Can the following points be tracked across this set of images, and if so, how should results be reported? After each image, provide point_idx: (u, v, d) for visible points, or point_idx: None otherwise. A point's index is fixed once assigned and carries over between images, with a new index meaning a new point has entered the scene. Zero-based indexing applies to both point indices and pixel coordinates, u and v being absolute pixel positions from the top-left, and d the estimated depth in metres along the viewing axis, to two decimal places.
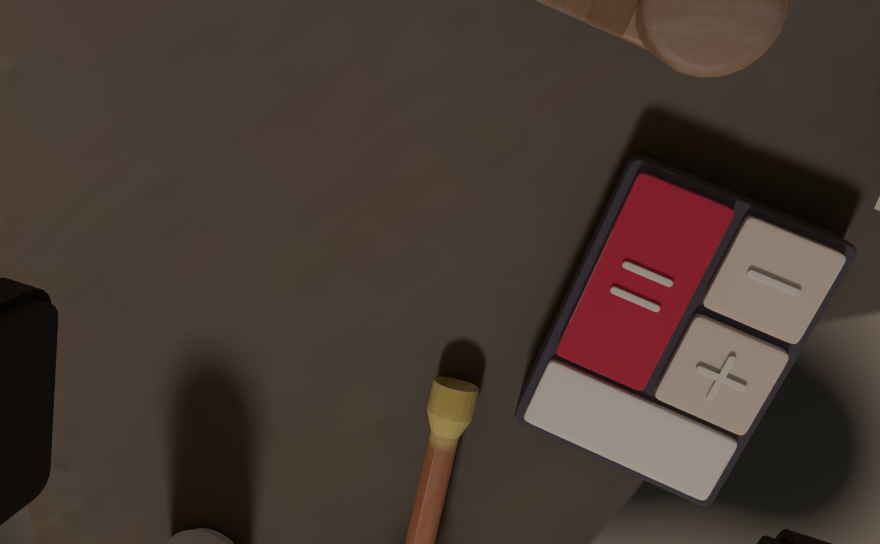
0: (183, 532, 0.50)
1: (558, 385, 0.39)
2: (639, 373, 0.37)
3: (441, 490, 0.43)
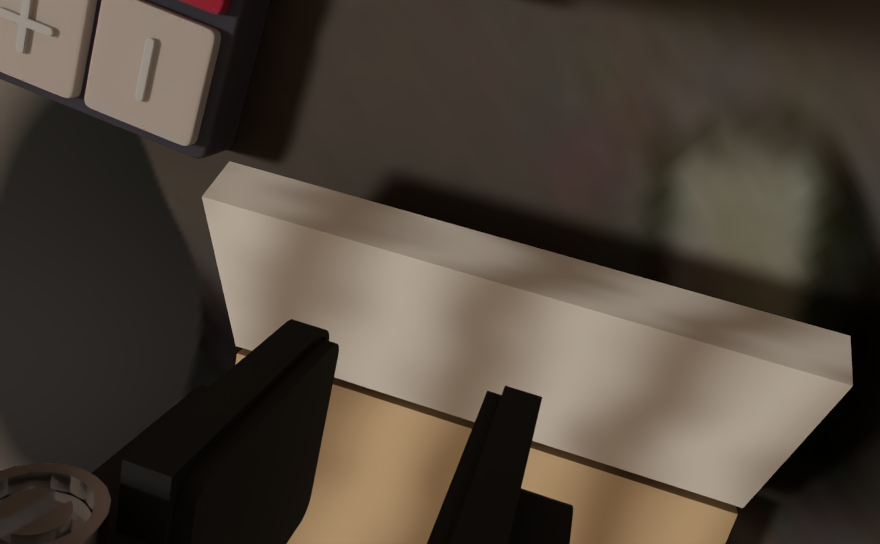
0: None
1: None
2: None
3: None
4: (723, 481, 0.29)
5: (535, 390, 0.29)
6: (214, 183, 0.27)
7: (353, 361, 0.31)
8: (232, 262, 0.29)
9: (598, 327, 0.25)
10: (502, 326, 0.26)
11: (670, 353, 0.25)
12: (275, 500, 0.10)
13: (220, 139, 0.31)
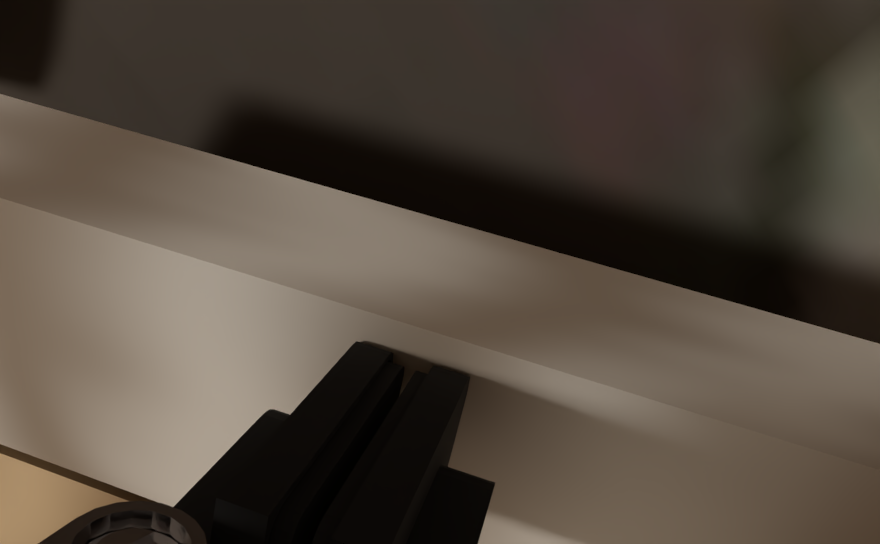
0: None
1: None
2: None
3: None
4: None
5: None
6: None
7: (168, 475, 0.16)
8: None
9: (686, 447, 0.10)
10: None
11: (877, 520, 0.09)
12: None
13: None
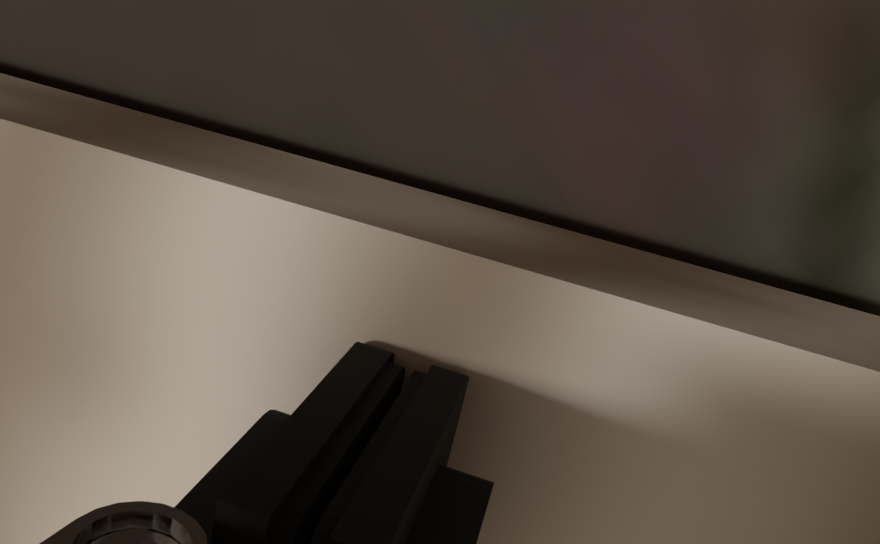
0: None
1: None
2: None
3: None
4: None
5: None
6: None
7: None
8: None
9: (732, 387, 0.09)
10: (466, 408, 0.10)
11: None
12: None
13: None
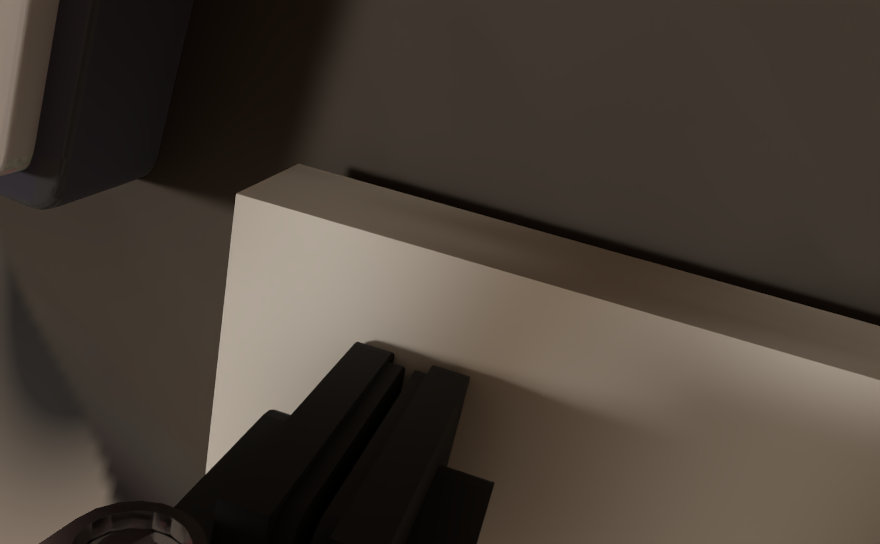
0: None
1: None
2: None
3: None
4: None
5: None
6: (266, 182, 0.11)
7: None
8: (257, 410, 0.11)
9: None
10: None
11: None
12: None
13: (108, 156, 0.12)
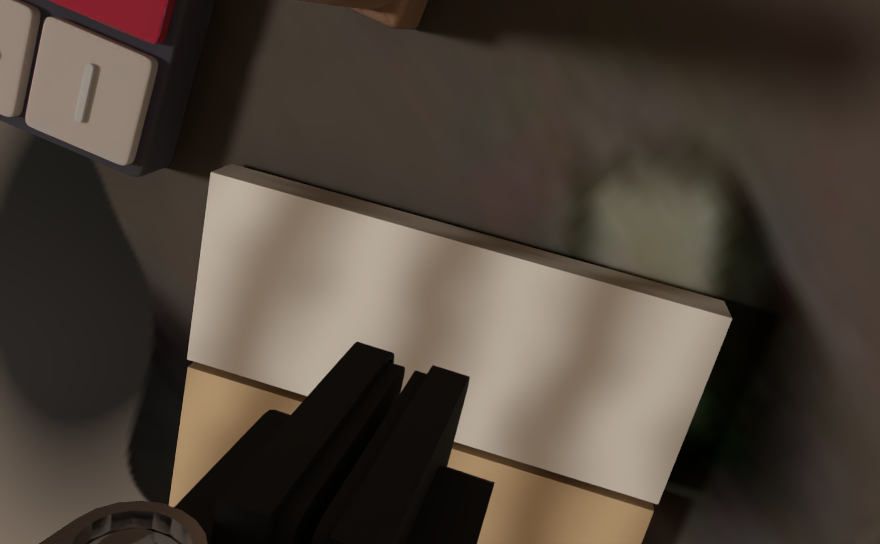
0: None
1: None
2: None
3: None
4: (639, 468, 0.32)
5: (476, 371, 0.32)
6: (220, 169, 0.33)
7: (306, 361, 0.34)
8: (216, 246, 0.33)
9: (535, 280, 0.31)
10: (454, 292, 0.32)
11: (592, 303, 0.31)
12: None
13: (157, 159, 0.33)
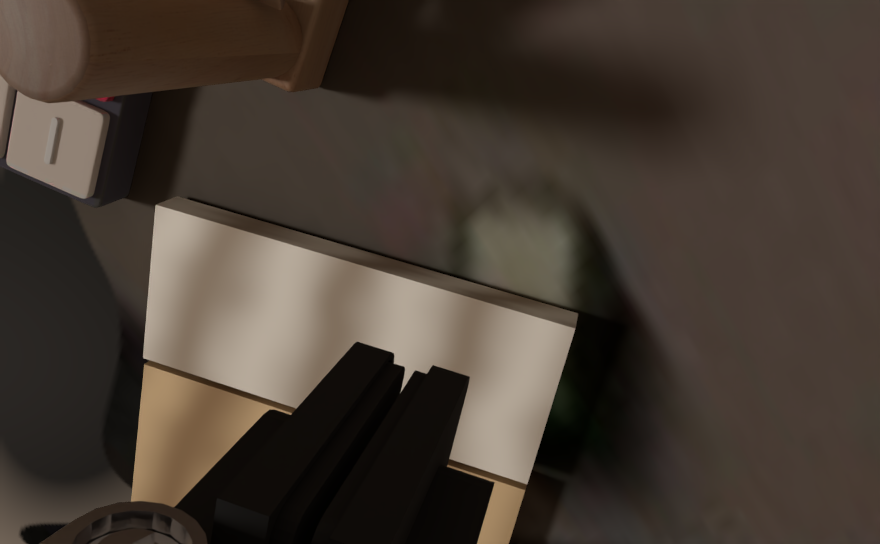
0: None
1: None
2: None
3: None
4: (510, 453, 0.39)
5: None
6: (165, 201, 0.40)
7: (237, 360, 0.41)
8: (162, 265, 0.40)
9: (416, 296, 0.37)
10: (352, 304, 0.38)
11: (462, 315, 0.37)
12: None
13: (114, 192, 0.40)
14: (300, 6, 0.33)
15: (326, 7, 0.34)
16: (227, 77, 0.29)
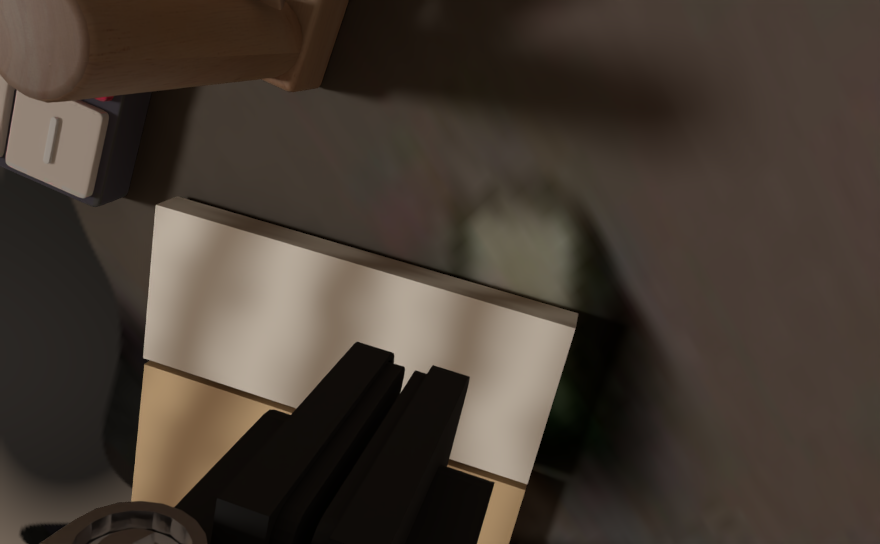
0: None
1: None
2: None
3: None
4: (510, 453, 0.39)
5: None
6: (165, 201, 0.40)
7: (237, 360, 0.41)
8: (163, 265, 0.40)
9: (416, 296, 0.37)
10: (352, 304, 0.38)
11: (462, 315, 0.37)
12: None
13: (113, 191, 0.40)
14: (300, 6, 0.33)
15: (327, 7, 0.34)
16: (227, 77, 0.29)
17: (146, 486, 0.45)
